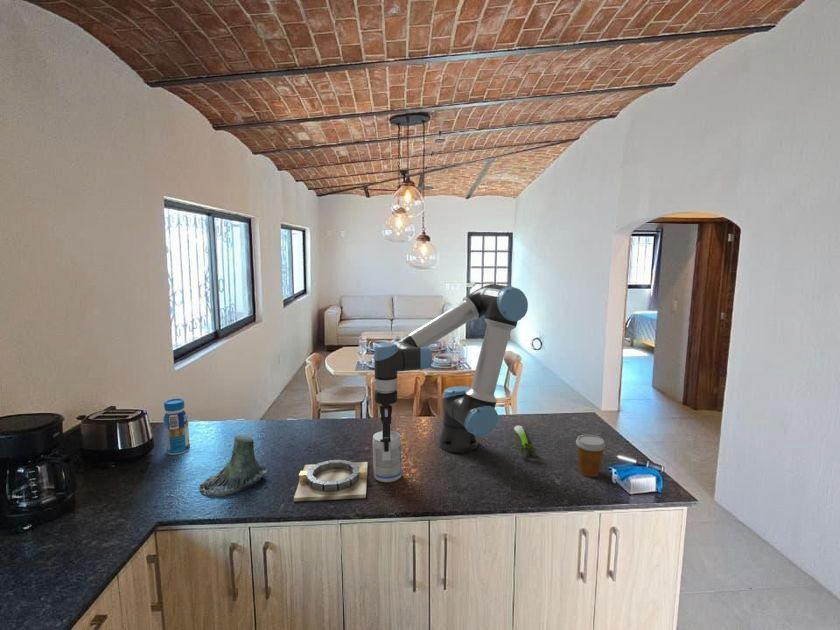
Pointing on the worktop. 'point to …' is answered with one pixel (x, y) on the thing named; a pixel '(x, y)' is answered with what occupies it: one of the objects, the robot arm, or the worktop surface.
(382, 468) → the supplement tub
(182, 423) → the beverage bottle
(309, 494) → the base plate
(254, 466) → the tree stump
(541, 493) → the worktop surface
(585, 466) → the disposable coffee cup
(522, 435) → the leek
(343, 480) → the ring
